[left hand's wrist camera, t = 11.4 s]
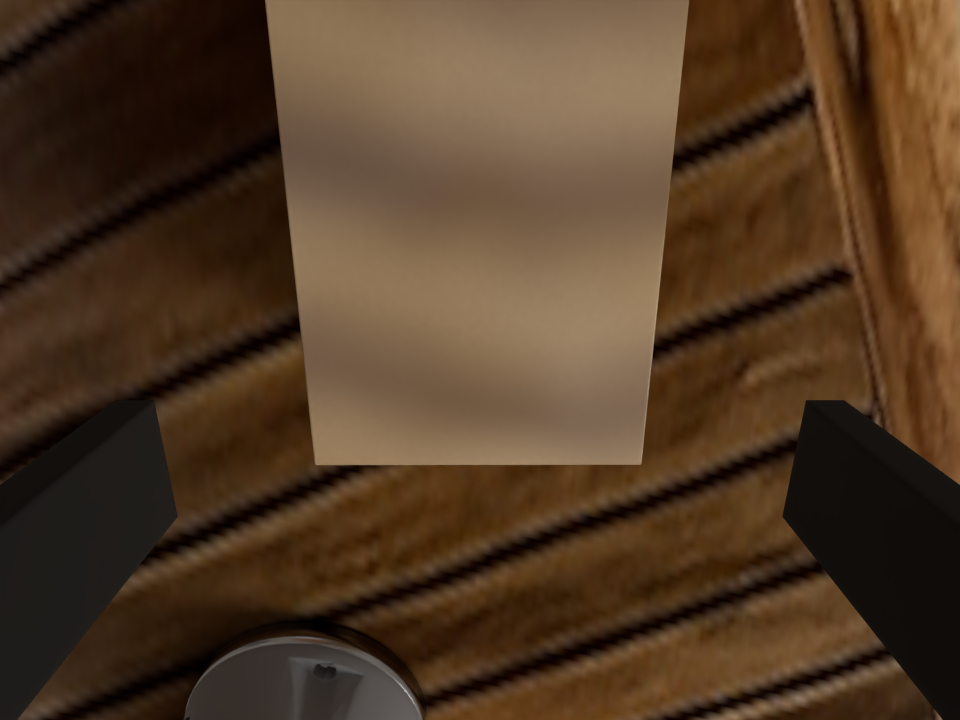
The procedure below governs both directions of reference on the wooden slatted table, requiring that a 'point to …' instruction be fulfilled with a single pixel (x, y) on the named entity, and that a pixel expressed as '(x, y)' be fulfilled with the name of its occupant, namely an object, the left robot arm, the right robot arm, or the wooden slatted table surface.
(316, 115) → the cabinet
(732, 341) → the wooden slatted table surface
